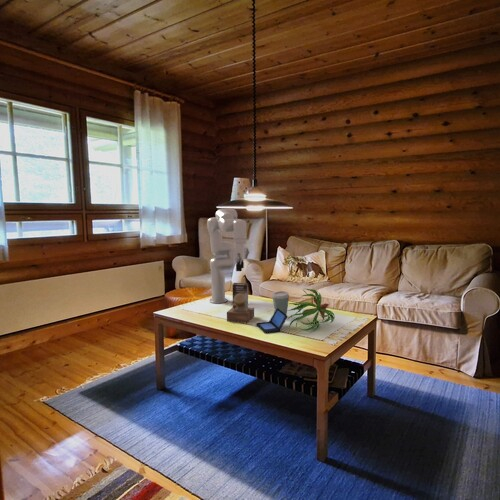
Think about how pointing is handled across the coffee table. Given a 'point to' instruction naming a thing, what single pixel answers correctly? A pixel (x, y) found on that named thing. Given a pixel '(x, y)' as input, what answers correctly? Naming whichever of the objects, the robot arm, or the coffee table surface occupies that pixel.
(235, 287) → the coffee box
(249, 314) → the walnut block
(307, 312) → the decorative plant
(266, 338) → the coffee table surface
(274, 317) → the handheld game console
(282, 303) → the disposable coffee cup
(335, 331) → the coffee table surface
